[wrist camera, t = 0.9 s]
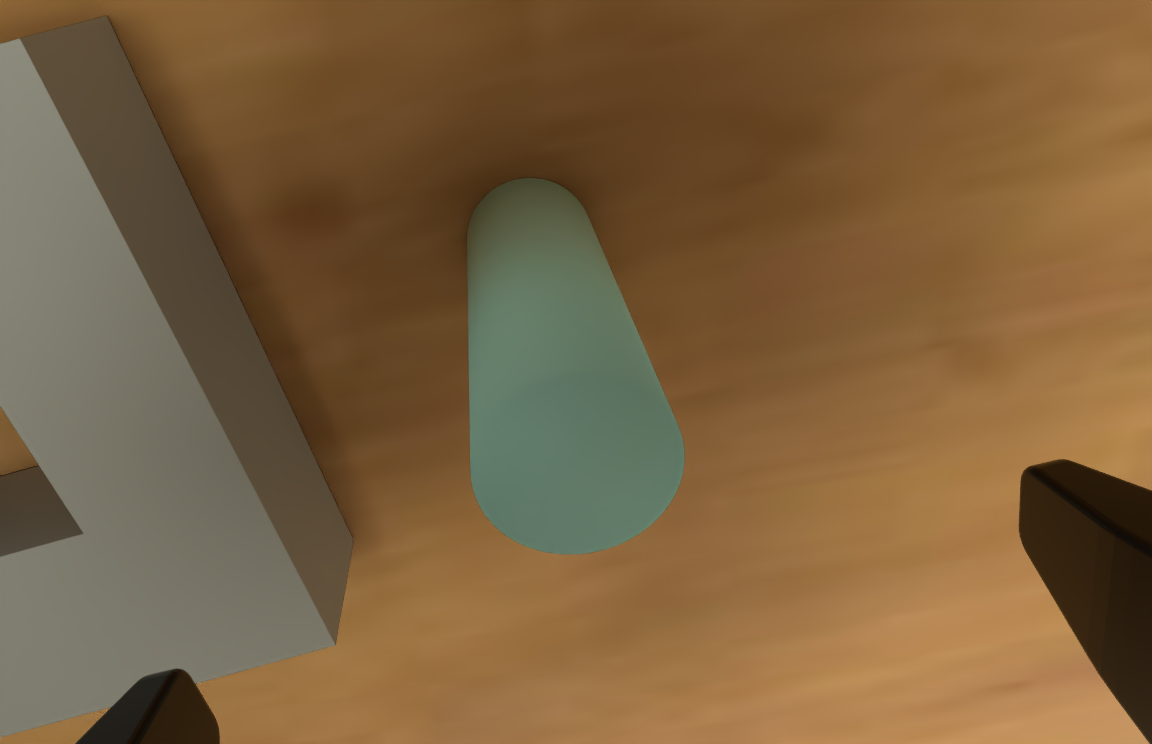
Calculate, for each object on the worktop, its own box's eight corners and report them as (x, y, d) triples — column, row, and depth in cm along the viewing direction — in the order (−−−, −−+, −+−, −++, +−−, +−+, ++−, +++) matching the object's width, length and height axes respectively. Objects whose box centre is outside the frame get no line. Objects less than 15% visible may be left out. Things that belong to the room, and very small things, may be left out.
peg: (487, 311, 22) (505, 576, 13) (450, 197, 20) (441, 407, 12) (604, 279, 22) (701, 523, 13) (575, 162, 20) (661, 346, 12)
